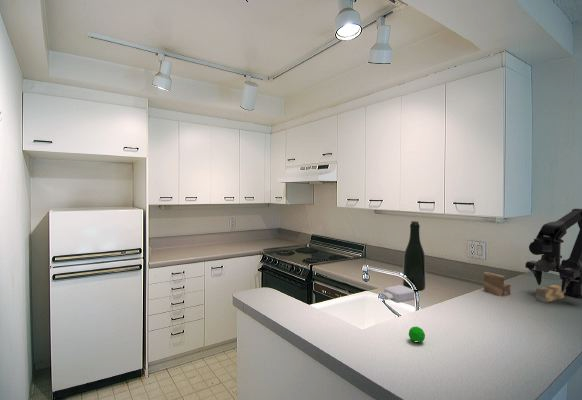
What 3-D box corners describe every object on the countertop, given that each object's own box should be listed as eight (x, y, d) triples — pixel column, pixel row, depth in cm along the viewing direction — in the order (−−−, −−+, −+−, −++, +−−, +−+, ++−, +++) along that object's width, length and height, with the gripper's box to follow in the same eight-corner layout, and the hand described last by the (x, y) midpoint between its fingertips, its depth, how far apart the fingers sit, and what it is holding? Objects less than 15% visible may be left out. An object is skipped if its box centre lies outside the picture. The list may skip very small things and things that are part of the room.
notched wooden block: (491, 288, 159) (491, 270, 158) (510, 294, 151) (510, 275, 150) (482, 290, 156) (483, 272, 156) (501, 296, 148) (501, 277, 148)
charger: (373, 299, 147) (399, 294, 153) (387, 306, 139) (414, 300, 145) (373, 288, 147) (399, 284, 153) (387, 295, 138) (414, 290, 144)
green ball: (405, 339, 109) (405, 325, 109) (416, 336, 111) (416, 323, 110) (416, 346, 104) (416, 332, 104) (428, 343, 106) (428, 329, 106)
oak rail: (554, 295, 149) (555, 284, 149) (563, 297, 146) (564, 286, 145) (535, 300, 143) (536, 288, 143) (544, 302, 140) (544, 291, 140)
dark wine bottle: (415, 283, 167) (416, 219, 165) (430, 290, 157) (431, 222, 155) (398, 286, 164) (399, 220, 162) (412, 292, 154) (412, 223, 152)
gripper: (518, 250, 149) (517, 284, 150) (566, 259, 132) (564, 297, 133) (533, 248, 153) (532, 281, 154) (581, 256, 136) (580, 293, 137)
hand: (550, 288), depth 144 cm, fingers open, 9 cm apart
